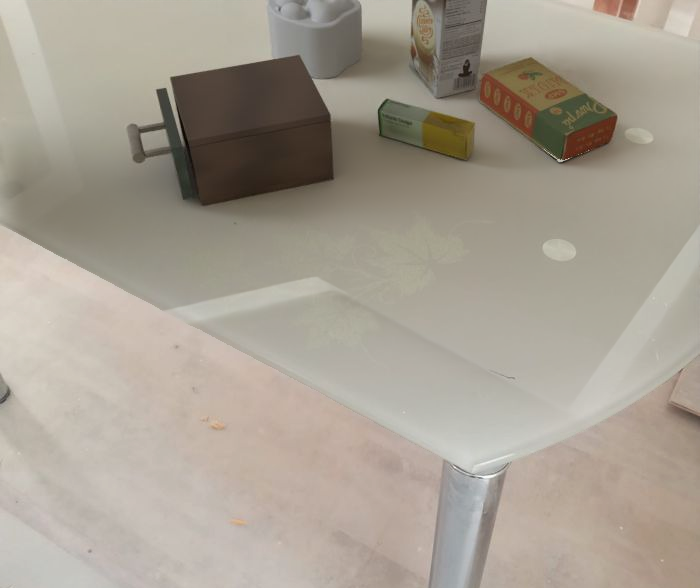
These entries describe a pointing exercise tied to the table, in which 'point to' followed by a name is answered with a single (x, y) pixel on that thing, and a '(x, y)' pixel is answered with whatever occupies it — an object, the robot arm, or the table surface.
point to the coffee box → (447, 44)
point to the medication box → (426, 128)
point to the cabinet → (253, 128)
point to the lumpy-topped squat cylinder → (317, 33)
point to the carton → (547, 108)
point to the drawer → (173, 147)
